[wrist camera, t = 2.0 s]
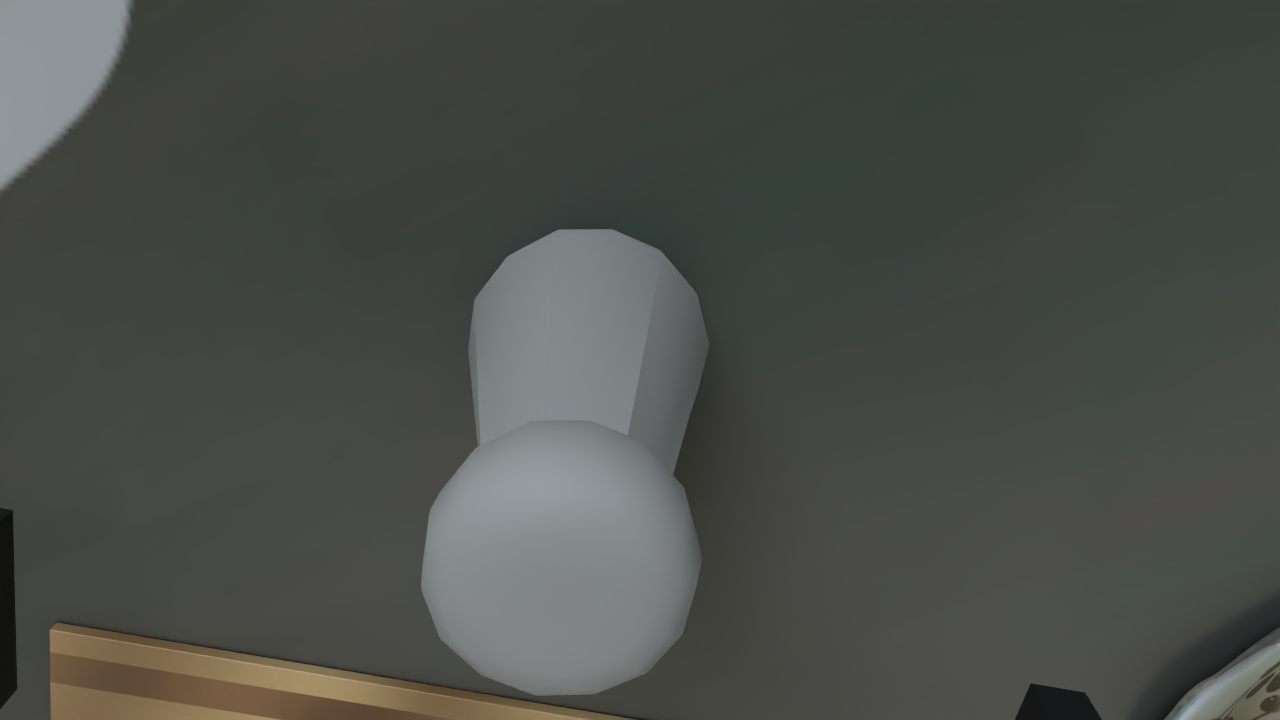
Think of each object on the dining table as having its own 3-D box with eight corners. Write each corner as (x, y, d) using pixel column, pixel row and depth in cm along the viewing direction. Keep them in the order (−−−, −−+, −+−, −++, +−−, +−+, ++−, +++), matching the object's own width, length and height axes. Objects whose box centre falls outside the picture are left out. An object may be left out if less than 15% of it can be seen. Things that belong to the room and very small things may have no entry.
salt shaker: (491, 413, 28) (374, 767, 16) (474, 209, 25) (323, 433, 13) (703, 410, 28) (751, 761, 15) (704, 205, 25) (760, 425, 13)
